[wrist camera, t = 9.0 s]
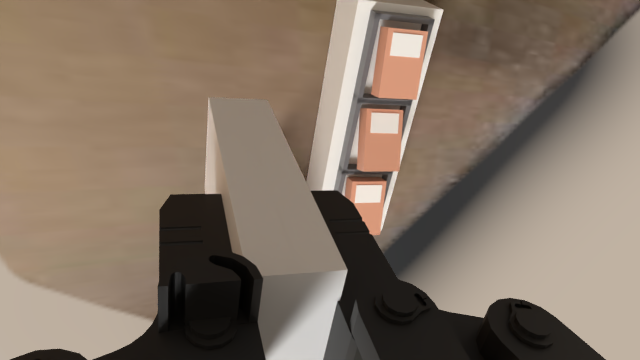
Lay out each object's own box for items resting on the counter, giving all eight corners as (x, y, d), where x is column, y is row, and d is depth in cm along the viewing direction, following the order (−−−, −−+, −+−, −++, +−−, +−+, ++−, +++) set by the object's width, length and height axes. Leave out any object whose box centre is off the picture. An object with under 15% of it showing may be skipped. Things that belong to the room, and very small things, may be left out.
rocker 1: (359, 108, 38) (367, 108, 37) (395, 109, 39) (403, 110, 38) (356, 169, 39) (363, 171, 38) (391, 169, 40) (399, 171, 39)
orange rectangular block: (380, 26, 35) (389, 27, 33) (418, 30, 36) (428, 31, 34) (370, 94, 36) (378, 98, 35) (407, 96, 37) (416, 99, 36)
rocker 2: (346, 177, 41) (352, 181, 40) (379, 176, 42) (387, 181, 41) (341, 230, 43) (347, 236, 41) (373, 228, 44) (380, 235, 42)
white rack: (339, -13, 37) (363, 2, 33) (417, -3, 40) (449, 12, 35) (302, 206, 48) (316, 240, 43) (365, 204, 50) (385, 236, 46)
